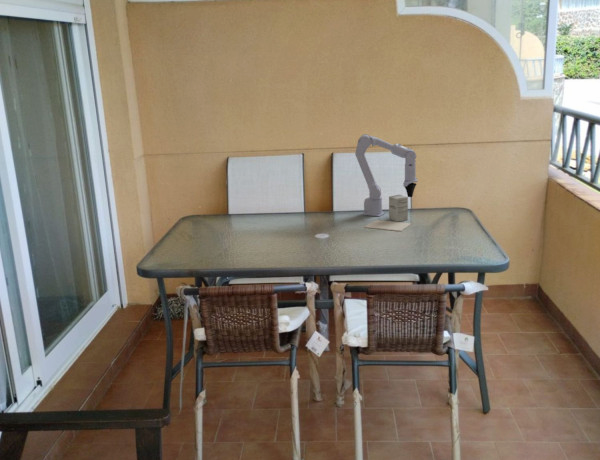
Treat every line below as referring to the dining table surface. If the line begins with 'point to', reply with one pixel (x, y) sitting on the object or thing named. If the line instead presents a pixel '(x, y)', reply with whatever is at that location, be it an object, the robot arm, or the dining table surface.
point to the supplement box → (398, 208)
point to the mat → (388, 225)
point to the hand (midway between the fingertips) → (410, 196)
